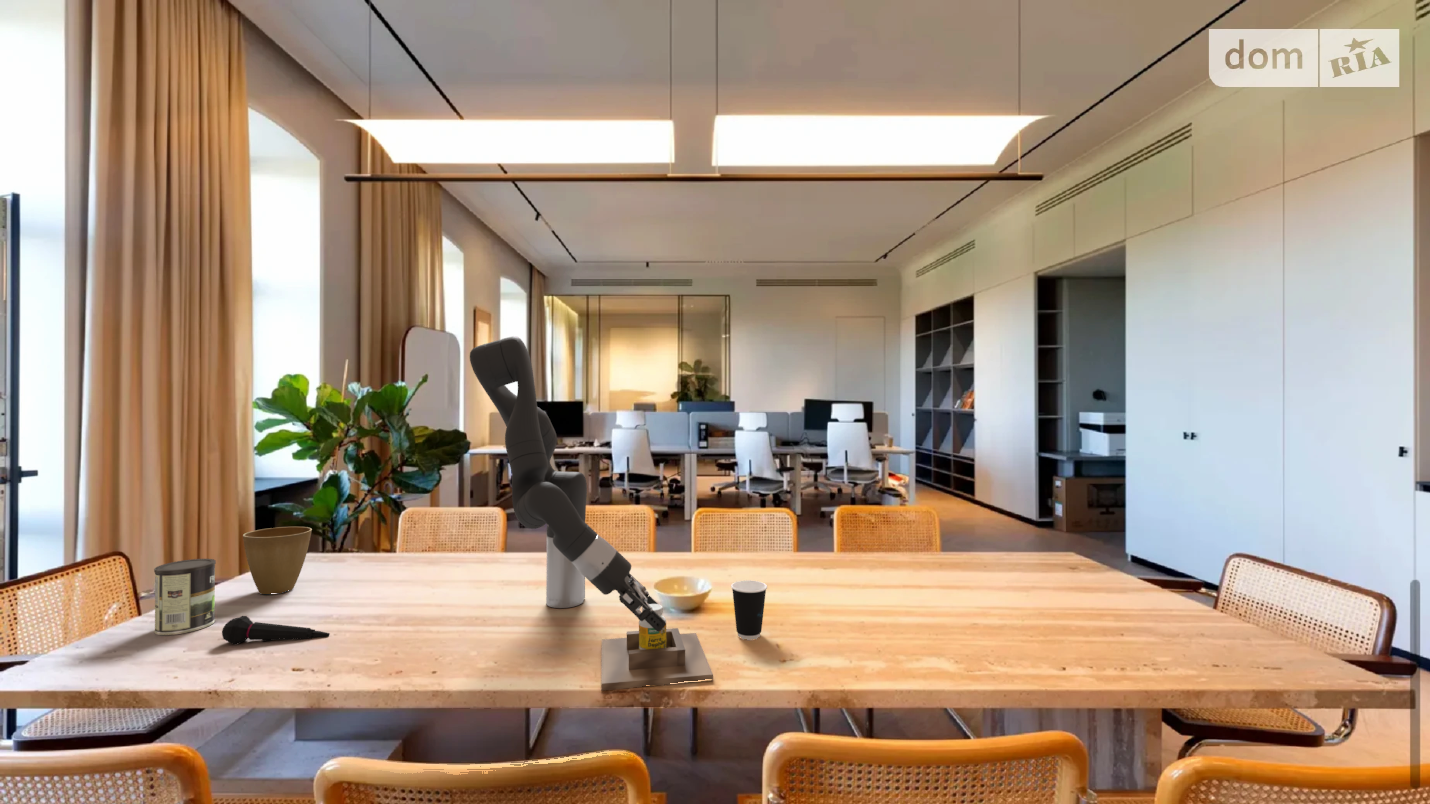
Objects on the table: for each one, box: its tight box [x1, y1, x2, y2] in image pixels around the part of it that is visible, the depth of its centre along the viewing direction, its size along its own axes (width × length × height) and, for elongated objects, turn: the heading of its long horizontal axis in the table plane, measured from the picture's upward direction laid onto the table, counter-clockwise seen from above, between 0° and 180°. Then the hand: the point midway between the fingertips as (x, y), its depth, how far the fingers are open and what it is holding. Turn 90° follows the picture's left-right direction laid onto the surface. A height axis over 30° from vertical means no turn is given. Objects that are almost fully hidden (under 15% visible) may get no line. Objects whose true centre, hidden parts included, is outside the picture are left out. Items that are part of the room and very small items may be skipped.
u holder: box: [600, 627, 714, 691], centre depth 115 cm, size 20×20×4 cm
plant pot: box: [242, 526, 313, 595], centre depth 159 cm, size 15×15×16 cm
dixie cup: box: [730, 579, 768, 641], centre depth 129 cm, size 8×8×11 cm
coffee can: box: [153, 558, 217, 636], centre depth 133 cm, size 10×10×14 cm
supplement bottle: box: [638, 603, 667, 650], centre depth 115 cm, size 5×5×10 cm
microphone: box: [221, 615, 331, 645], centre depth 126 cm, size 6×6×20 cm
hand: (660, 619), depth 116 cm, fingers open, 8 cm apart
